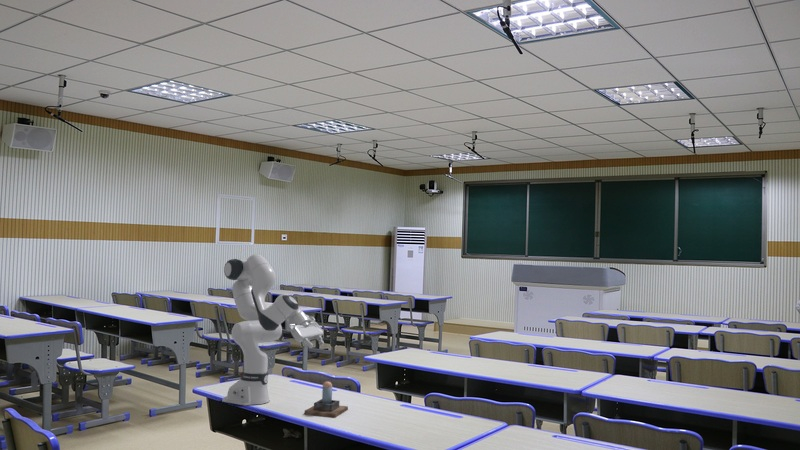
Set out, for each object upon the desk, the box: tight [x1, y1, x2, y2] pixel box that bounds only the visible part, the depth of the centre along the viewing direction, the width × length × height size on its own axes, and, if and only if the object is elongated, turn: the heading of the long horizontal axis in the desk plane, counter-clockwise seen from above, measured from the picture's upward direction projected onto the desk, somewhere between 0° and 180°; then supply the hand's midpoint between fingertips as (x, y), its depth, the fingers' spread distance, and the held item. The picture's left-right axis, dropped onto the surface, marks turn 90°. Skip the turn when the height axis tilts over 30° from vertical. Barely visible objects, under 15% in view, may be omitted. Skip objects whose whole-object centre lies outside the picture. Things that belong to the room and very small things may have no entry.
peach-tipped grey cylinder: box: [321, 380, 333, 404], centre depth 283 cm, size 4×4×12 cm
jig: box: [304, 398, 349, 419], centre depth 282 cm, size 15×15×4 cm
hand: (317, 345), depth 287 cm, fingers open, 8 cm apart
